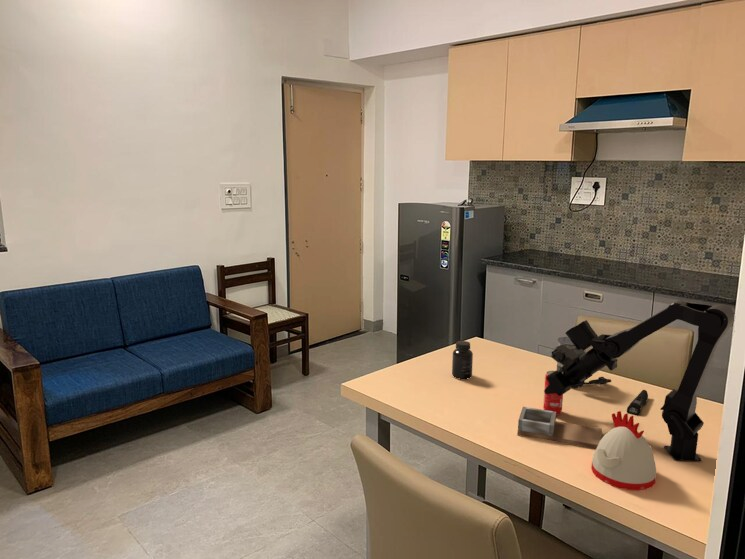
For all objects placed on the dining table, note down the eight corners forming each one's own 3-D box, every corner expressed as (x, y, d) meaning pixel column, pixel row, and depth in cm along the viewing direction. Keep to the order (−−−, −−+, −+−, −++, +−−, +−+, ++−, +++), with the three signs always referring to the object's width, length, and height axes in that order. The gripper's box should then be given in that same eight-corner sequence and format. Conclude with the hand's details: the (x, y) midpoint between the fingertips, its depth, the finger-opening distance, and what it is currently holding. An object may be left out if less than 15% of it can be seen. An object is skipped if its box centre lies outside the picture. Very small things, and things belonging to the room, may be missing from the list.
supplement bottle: (448, 374, 195) (448, 341, 193) (464, 371, 198) (465, 338, 196) (459, 381, 189) (460, 347, 187) (476, 378, 192) (477, 344, 190)
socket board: (601, 432, 154) (602, 418, 153) (601, 449, 145) (602, 434, 144) (522, 419, 161) (523, 405, 160) (517, 435, 152) (518, 420, 151)
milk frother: (548, 379, 191) (551, 337, 188) (586, 373, 196) (589, 332, 193) (577, 396, 178) (581, 351, 175) (617, 389, 183) (621, 345, 180)
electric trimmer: (650, 400, 176) (651, 390, 175) (639, 417, 164) (640, 407, 163) (637, 397, 178) (638, 387, 177) (625, 413, 166) (626, 403, 165)
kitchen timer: (618, 453, 143) (623, 398, 140) (668, 480, 131) (675, 420, 128) (578, 467, 136) (583, 409, 133) (628, 496, 125) (634, 434, 121)
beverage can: (541, 413, 165) (543, 375, 162) (545, 407, 169) (547, 369, 167) (559, 417, 163) (562, 378, 160) (563, 410, 167) (565, 372, 165)
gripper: (585, 332, 165) (548, 358, 175) (555, 346, 152) (516, 374, 162) (610, 364, 161) (570, 389, 171) (581, 382, 148) (540, 408, 158)
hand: (549, 389), depth 166 cm, fingers closed on beverage can, 5 cm apart
